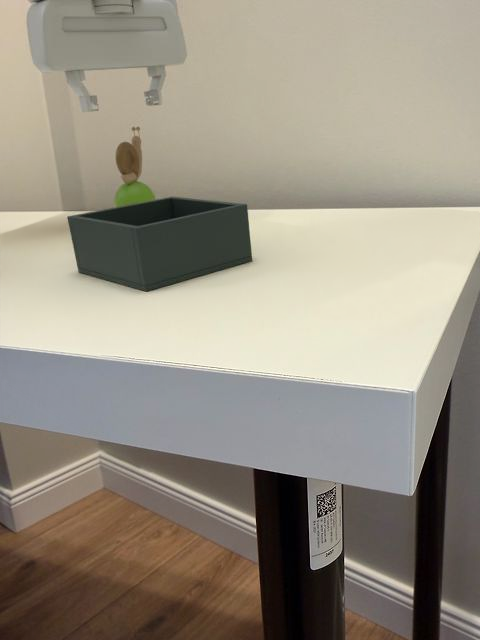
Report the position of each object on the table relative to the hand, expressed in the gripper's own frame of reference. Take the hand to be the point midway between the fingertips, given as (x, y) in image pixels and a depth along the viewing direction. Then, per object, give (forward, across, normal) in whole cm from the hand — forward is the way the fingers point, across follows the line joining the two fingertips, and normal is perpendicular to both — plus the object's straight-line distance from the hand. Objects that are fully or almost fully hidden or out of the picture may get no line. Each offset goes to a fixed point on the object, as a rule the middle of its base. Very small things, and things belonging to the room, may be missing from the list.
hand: (123, 108), depth 84 cm
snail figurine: (+15, 0, 0) cm, 15 cm away
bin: (+14, +13, +25) cm, 32 cm away
